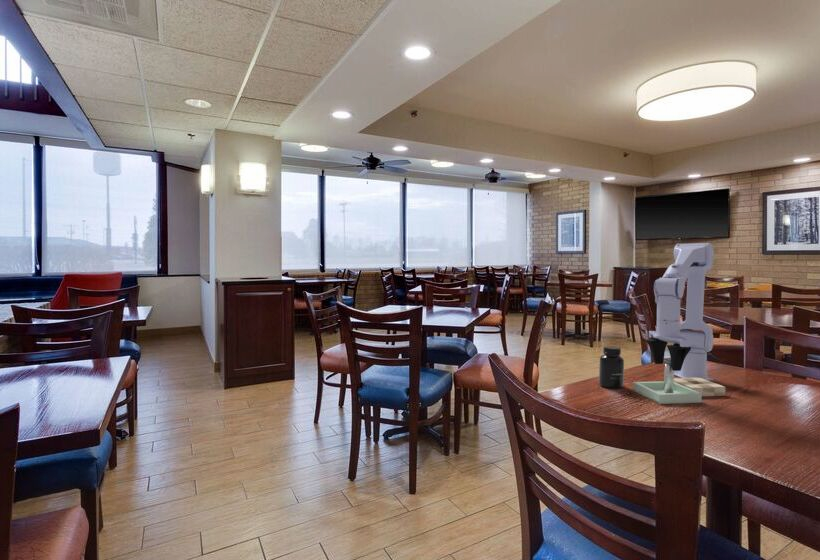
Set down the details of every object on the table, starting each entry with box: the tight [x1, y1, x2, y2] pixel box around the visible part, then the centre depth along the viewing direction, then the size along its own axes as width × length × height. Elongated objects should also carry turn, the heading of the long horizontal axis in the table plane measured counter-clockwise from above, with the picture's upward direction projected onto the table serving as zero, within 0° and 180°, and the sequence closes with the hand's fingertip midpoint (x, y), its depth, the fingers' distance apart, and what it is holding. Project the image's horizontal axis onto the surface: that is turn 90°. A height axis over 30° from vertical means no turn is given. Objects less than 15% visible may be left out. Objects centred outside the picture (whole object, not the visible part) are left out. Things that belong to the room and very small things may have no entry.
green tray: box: [632, 380, 703, 405], centre depth 122 cm, size 12×12×2 cm
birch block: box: [674, 377, 726, 397], centre depth 127 cm, size 10×10×2 cm
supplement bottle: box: [598, 345, 625, 389], centre depth 133 cm, size 7×7×12 cm
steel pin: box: [663, 357, 675, 393], centre depth 123 cm, size 3×3×10 cm
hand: (667, 367), depth 123 cm, fingers open, 7 cm apart
